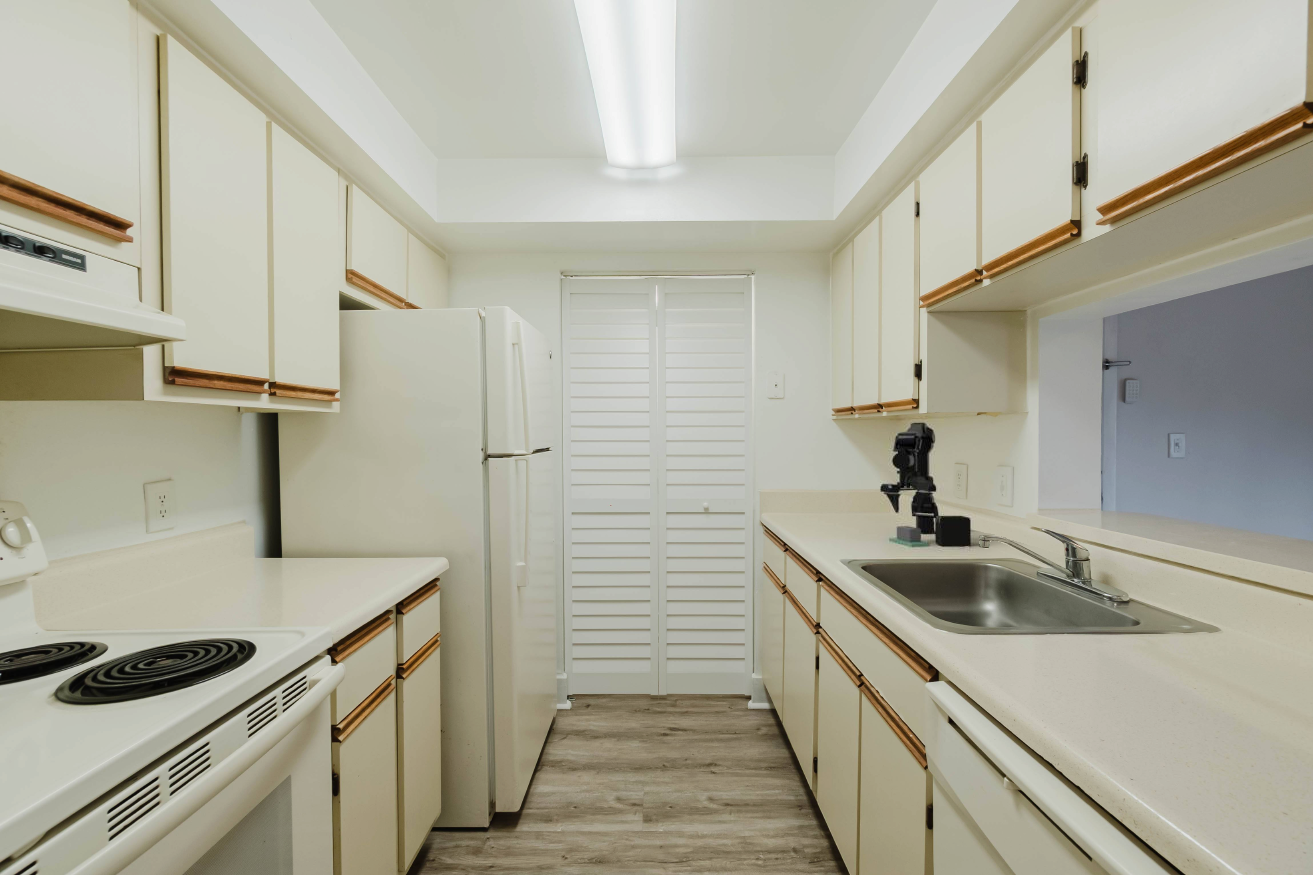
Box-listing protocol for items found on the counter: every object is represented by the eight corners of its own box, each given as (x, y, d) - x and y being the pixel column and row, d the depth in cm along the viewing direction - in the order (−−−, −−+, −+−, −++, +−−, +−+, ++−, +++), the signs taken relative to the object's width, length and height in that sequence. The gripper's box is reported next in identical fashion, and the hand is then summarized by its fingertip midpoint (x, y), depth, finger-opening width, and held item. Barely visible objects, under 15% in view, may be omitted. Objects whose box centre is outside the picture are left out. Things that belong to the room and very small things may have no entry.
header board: (889, 540, 195) (889, 531, 195) (906, 539, 196) (906, 530, 196) (911, 546, 183) (911, 536, 183) (929, 545, 184) (929, 535, 185)
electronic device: (971, 546, 183) (970, 517, 183) (941, 546, 183) (941, 517, 183) (964, 544, 187) (963, 515, 187) (935, 544, 188) (934, 515, 188)
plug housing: (896, 538, 193) (896, 526, 193) (907, 538, 194) (907, 525, 194) (909, 542, 186) (909, 529, 186) (921, 541, 187) (920, 528, 187)
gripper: (899, 469, 180) (900, 516, 180) (947, 468, 184) (948, 514, 184) (879, 468, 191) (879, 512, 191) (924, 467, 195) (925, 510, 195)
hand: (908, 512), depth 190 cm, fingers open, 9 cm apart
